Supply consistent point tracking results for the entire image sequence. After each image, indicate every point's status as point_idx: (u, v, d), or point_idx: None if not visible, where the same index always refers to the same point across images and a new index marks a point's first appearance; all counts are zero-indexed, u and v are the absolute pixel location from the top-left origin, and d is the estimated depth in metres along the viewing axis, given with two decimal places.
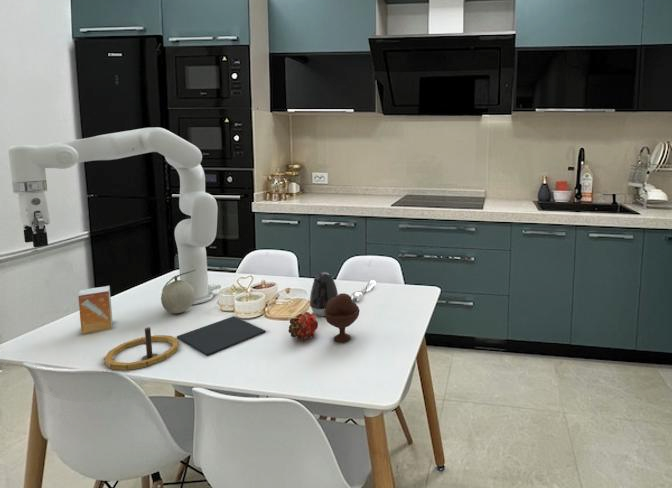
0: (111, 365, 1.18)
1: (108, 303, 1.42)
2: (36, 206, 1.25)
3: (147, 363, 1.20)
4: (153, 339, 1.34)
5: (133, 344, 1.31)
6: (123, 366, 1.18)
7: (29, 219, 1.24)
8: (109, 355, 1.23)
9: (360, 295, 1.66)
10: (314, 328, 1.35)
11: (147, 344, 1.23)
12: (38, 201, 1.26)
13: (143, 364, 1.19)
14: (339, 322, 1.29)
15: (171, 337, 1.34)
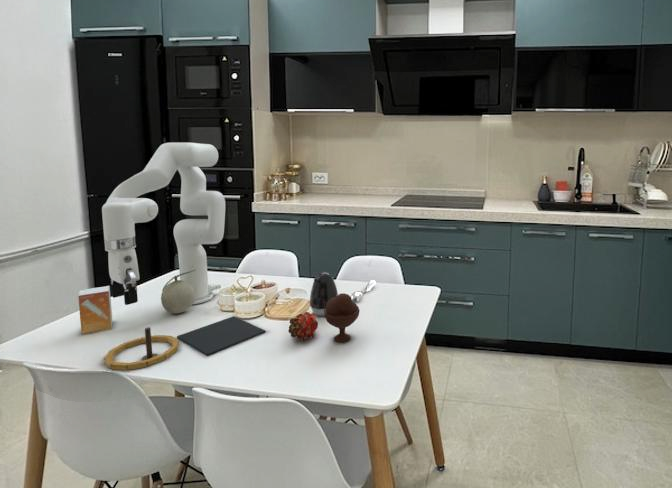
0: (111, 365, 1.18)
1: (108, 303, 1.42)
2: (128, 263, 1.25)
3: (147, 363, 1.20)
4: (153, 339, 1.34)
5: (133, 344, 1.31)
6: (123, 366, 1.18)
7: (121, 277, 1.24)
8: (109, 355, 1.23)
9: (360, 295, 1.66)
10: (314, 328, 1.35)
11: (147, 344, 1.23)
12: (129, 258, 1.27)
13: (143, 364, 1.19)
14: (339, 322, 1.29)
15: (171, 337, 1.34)
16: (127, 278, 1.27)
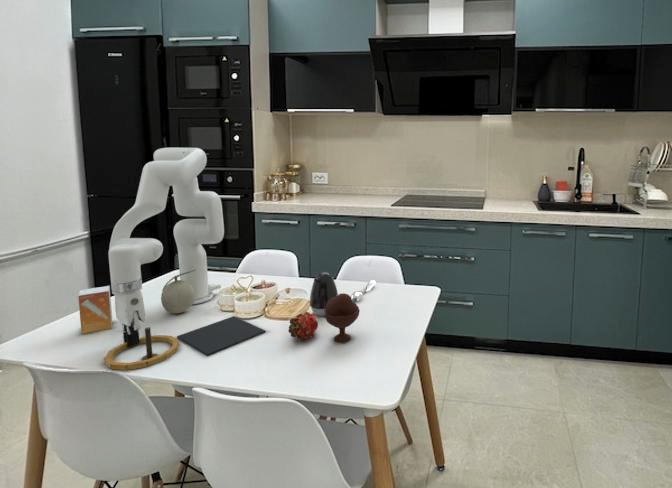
0: (111, 365, 1.18)
1: (108, 303, 1.42)
2: (135, 306, 1.27)
3: (147, 363, 1.20)
4: (153, 339, 1.34)
5: None
6: (123, 366, 1.18)
7: (128, 320, 1.26)
8: (109, 355, 1.23)
9: (360, 295, 1.66)
10: (314, 328, 1.35)
11: (147, 344, 1.23)
12: (136, 300, 1.28)
13: (143, 364, 1.19)
14: (339, 322, 1.29)
15: (171, 337, 1.34)
16: None
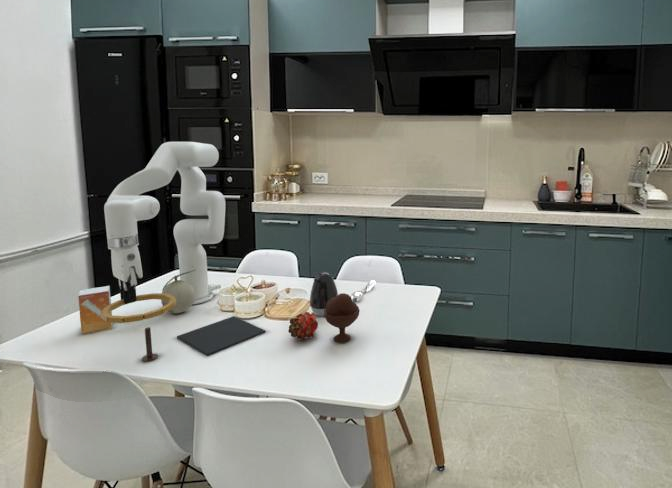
0: (107, 318, 1.17)
1: (108, 303, 1.42)
2: (131, 261, 1.26)
3: (144, 317, 1.18)
4: (150, 297, 1.33)
5: None
6: (120, 319, 1.16)
7: (125, 275, 1.25)
8: (105, 310, 1.22)
9: (360, 295, 1.66)
10: (314, 328, 1.35)
11: (147, 344, 1.23)
12: (132, 256, 1.27)
13: (140, 317, 1.18)
14: (339, 322, 1.29)
15: (168, 295, 1.32)
16: None
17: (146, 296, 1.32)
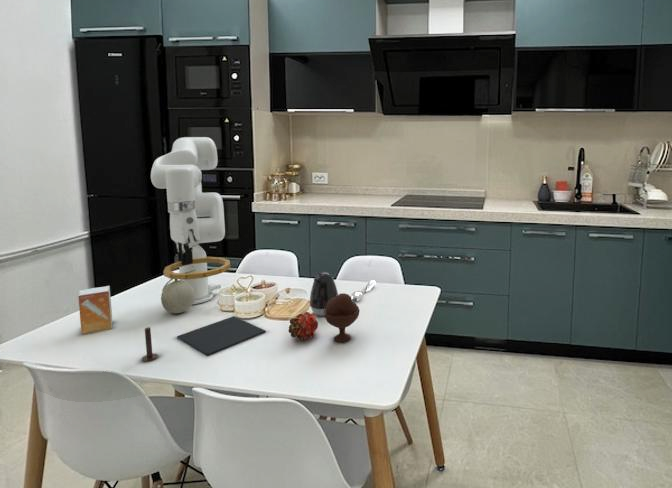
0: (171, 275, 1.24)
1: (108, 303, 1.42)
2: (190, 225, 1.33)
3: (204, 274, 1.26)
4: (205, 260, 1.40)
5: None
6: (182, 276, 1.24)
7: (184, 237, 1.32)
8: (167, 269, 1.29)
9: (360, 295, 1.66)
10: (314, 328, 1.35)
11: (147, 344, 1.23)
12: (190, 220, 1.34)
13: (201, 275, 1.25)
14: (339, 322, 1.29)
15: (222, 258, 1.40)
16: None
17: (201, 259, 1.40)
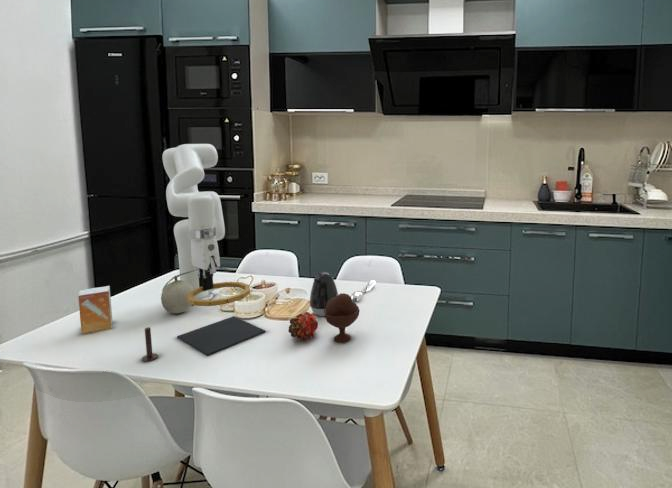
0: (195, 301, 1.28)
1: (108, 303, 1.42)
2: (211, 251, 1.37)
3: (227, 301, 1.30)
4: (225, 285, 1.44)
5: None
6: (206, 302, 1.28)
7: (206, 264, 1.36)
8: (190, 295, 1.33)
9: (360, 295, 1.66)
10: (314, 328, 1.35)
11: (147, 344, 1.23)
12: (212, 246, 1.38)
13: (224, 301, 1.29)
14: (339, 322, 1.29)
15: (242, 283, 1.44)
16: None
17: (221, 284, 1.44)
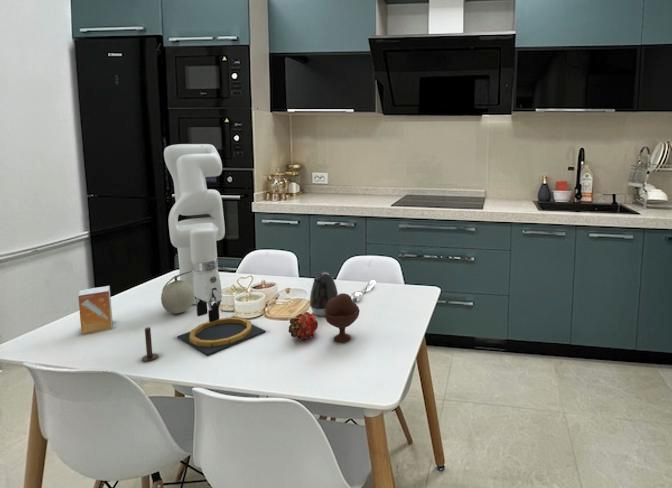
0: (197, 342, 1.30)
1: (108, 303, 1.42)
2: (213, 284, 1.38)
3: (229, 341, 1.31)
4: (226, 321, 1.46)
5: (209, 325, 1.43)
6: (208, 343, 1.29)
7: (208, 296, 1.37)
8: (192, 334, 1.34)
9: (360, 295, 1.66)
10: (314, 328, 1.35)
11: (147, 344, 1.23)
12: (213, 278, 1.40)
13: (226, 341, 1.31)
14: (339, 322, 1.29)
15: (243, 319, 1.45)
16: (211, 297, 1.40)
17: (223, 320, 1.45)
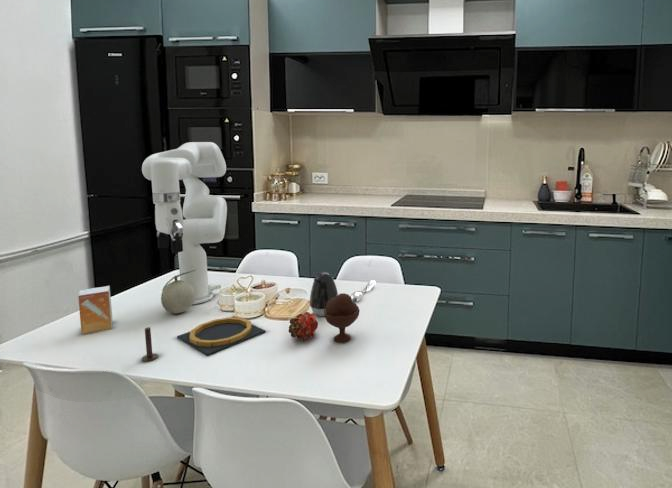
0: (197, 342, 1.30)
1: (108, 303, 1.42)
2: (174, 215, 1.37)
3: (229, 341, 1.31)
4: (226, 321, 1.46)
5: (209, 325, 1.43)
6: (208, 343, 1.29)
7: (169, 227, 1.36)
8: (192, 334, 1.34)
9: (360, 295, 1.66)
10: (314, 328, 1.35)
11: (147, 344, 1.23)
12: (175, 211, 1.38)
13: (226, 341, 1.31)
14: (339, 322, 1.29)
15: (243, 319, 1.45)
16: (173, 229, 1.38)
17: (223, 320, 1.45)
